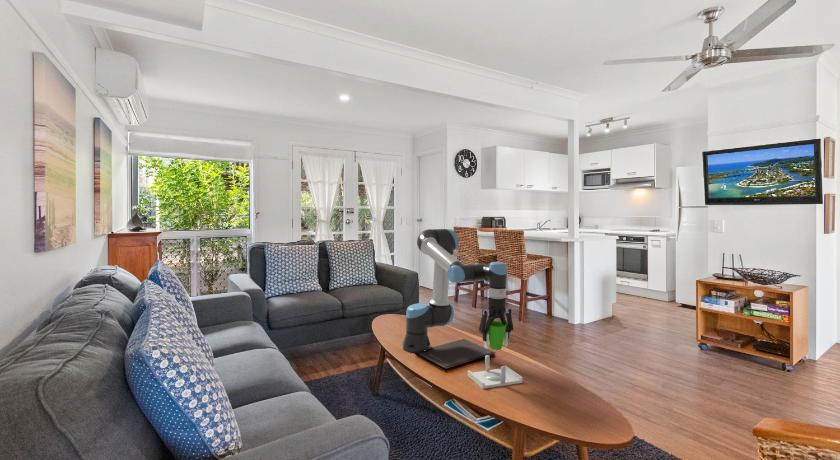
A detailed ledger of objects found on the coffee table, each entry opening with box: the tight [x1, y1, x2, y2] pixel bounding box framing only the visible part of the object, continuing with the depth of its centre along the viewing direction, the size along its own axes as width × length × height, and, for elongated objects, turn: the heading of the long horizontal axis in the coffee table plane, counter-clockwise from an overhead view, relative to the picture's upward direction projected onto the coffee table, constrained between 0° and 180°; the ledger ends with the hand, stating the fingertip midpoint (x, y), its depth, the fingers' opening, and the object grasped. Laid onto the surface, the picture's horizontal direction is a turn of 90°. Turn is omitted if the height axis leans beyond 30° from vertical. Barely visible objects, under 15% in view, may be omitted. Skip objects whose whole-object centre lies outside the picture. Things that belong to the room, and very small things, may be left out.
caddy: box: [467, 354, 524, 390], centre depth 181 cm, size 16×20×8 cm
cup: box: [487, 320, 508, 351], centre depth 180 cm, size 9×9×11 cm
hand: (495, 346), depth 181 cm, fingers closed on cup, 9 cm apart
